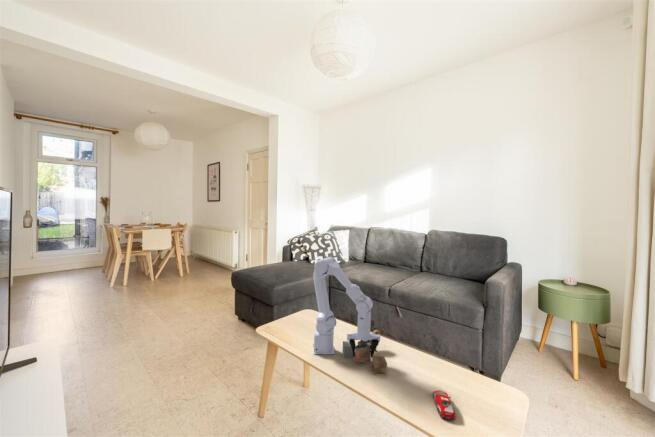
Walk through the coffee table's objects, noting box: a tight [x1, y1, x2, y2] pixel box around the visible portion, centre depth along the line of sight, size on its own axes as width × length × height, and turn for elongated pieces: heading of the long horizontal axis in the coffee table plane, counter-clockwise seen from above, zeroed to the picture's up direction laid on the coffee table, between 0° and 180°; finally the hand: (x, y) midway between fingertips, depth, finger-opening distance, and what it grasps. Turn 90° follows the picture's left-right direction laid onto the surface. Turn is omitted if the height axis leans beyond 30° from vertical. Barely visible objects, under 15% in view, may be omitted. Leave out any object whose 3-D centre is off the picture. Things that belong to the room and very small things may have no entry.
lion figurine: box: [359, 329, 381, 353], centre depth 136 cm, size 15×5×9 cm, turn 129°
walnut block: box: [371, 355, 388, 375], centre depth 121 cm, size 5×5×5 cm
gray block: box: [342, 340, 354, 358], centre depth 133 cm, size 5×5×5 cm
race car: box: [432, 389, 456, 421], centre depth 100 cm, size 13×5×4 cm, turn 171°
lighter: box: [354, 340, 372, 366], centre depth 127 cm, size 8×3×10 cm, turn 118°
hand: (362, 355), depth 127 cm, fingers closed on lighter, 7 cm apart
